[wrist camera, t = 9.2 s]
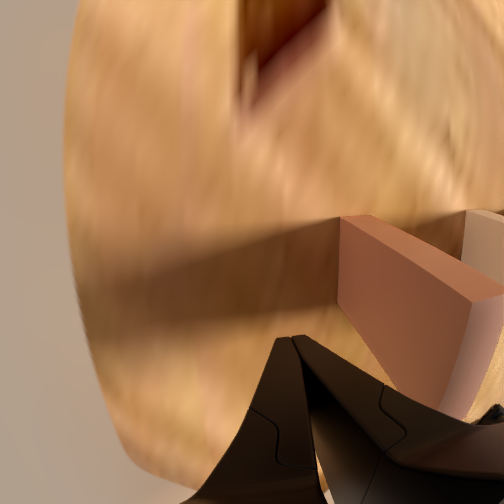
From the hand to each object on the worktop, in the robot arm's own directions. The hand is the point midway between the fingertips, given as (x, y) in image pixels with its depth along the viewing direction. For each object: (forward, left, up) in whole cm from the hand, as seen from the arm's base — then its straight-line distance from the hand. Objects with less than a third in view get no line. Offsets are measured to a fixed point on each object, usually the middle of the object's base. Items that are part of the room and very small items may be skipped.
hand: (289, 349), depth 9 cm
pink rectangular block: (-3, -3, -6) cm, 8 cm away
